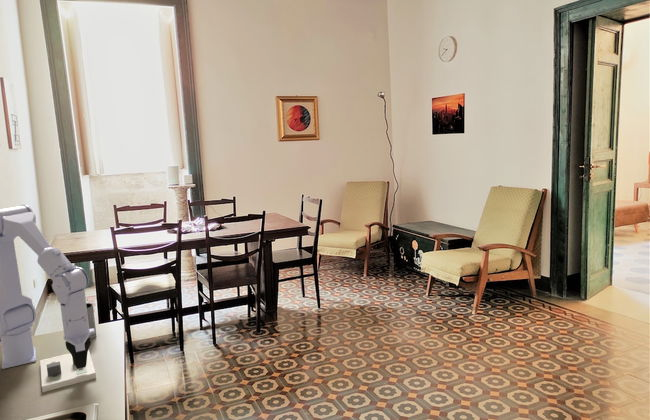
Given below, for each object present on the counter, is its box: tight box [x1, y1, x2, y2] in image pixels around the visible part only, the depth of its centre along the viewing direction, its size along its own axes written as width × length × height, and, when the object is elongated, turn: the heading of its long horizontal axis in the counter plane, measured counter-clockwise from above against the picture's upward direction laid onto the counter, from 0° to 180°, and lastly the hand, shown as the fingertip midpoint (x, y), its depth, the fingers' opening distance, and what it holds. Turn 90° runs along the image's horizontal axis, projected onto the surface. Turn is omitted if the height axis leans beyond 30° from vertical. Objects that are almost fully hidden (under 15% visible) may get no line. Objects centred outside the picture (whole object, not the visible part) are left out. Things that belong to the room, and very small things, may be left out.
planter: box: [86, 302, 97, 340], centre depth 148 cm, size 4×4×10 cm
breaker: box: [47, 362, 61, 377], centre depth 124 cm, size 2×3×2 cm, turn 121°
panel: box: [39, 348, 97, 393], centre depth 128 cm, size 16×12×2 cm
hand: (81, 366), depth 124 cm, fingers closed
